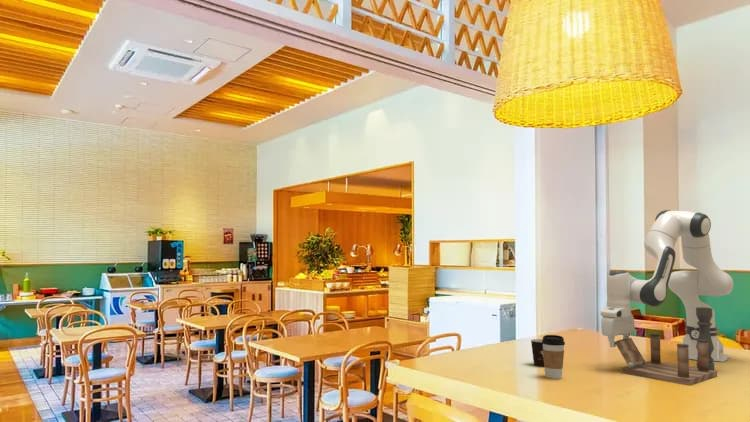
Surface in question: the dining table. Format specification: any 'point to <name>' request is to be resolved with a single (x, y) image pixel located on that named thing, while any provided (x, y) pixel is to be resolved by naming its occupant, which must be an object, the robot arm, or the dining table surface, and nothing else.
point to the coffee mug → (537, 352)
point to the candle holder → (705, 331)
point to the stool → (675, 365)
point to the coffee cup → (553, 355)
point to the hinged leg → (630, 352)
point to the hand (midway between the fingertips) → (618, 345)
